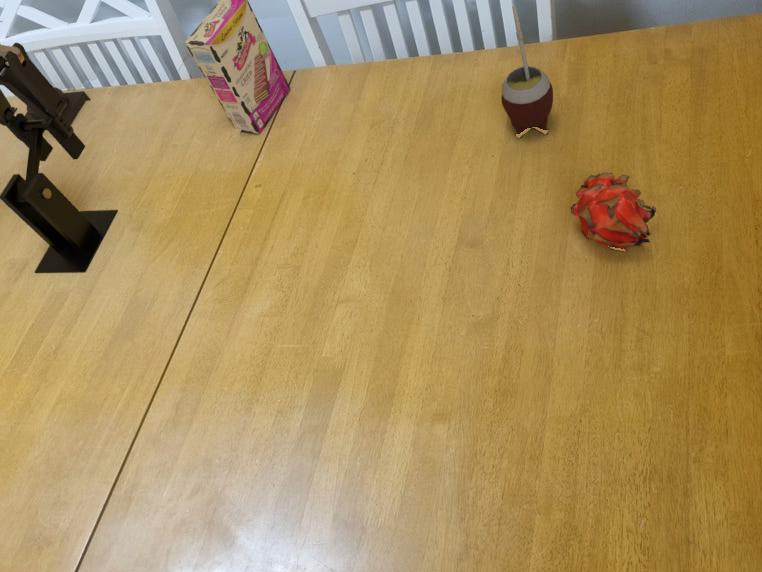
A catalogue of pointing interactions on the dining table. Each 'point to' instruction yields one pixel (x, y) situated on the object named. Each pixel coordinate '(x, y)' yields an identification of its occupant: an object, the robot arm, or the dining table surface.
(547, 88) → the mate gourd
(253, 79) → the candy bar box
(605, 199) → the dragon fruit
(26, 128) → the switch lever
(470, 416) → the dining table surface
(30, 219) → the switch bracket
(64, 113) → the button box
